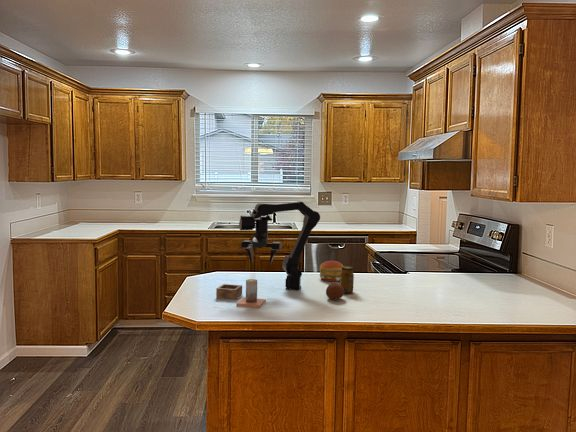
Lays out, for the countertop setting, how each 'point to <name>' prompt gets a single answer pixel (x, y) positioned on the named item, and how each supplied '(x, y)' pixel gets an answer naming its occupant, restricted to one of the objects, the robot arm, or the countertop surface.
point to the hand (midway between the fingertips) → (261, 263)
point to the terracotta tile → (255, 305)
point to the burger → (331, 271)
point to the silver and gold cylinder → (251, 290)
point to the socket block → (229, 291)
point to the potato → (334, 291)
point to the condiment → (347, 280)
